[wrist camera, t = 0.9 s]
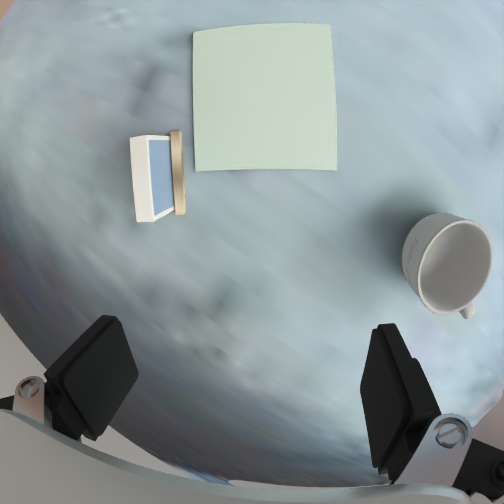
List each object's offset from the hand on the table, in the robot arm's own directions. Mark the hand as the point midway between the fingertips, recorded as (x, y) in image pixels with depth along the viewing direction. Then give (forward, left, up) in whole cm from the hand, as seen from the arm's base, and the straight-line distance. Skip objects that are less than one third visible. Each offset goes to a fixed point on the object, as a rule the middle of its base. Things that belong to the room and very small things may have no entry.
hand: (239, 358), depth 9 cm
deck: (-5, -13, -25) cm, 29 cm away
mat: (-14, -1, -25) cm, 28 cm away
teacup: (+5, +21, -25) cm, 33 cm away
